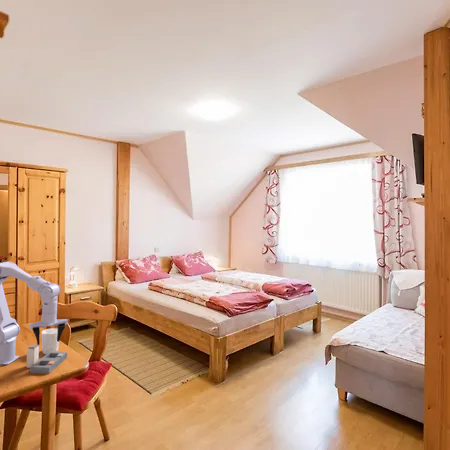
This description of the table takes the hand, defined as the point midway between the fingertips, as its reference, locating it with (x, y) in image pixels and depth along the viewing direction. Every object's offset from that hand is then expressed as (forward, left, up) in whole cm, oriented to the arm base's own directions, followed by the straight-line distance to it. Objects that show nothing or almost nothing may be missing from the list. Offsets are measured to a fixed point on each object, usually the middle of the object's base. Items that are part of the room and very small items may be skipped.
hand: (48, 342), depth 138 cm
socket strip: (+1, 0, -10) cm, 10 cm away
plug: (-6, -2, -10) cm, 11 cm away
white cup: (-6, +13, -10) cm, 18 cm away
